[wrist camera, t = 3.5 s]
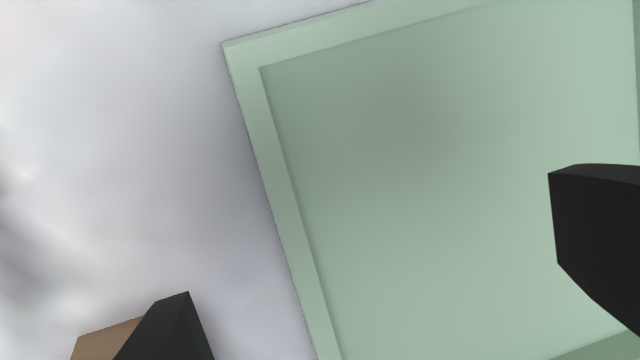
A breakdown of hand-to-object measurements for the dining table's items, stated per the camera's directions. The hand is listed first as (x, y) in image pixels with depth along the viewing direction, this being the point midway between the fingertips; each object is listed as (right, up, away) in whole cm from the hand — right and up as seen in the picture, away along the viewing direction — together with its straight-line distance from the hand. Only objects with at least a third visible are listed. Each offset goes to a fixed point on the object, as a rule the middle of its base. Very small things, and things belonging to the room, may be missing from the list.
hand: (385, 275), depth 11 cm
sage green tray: (+5, +1, +12) cm, 13 cm away
